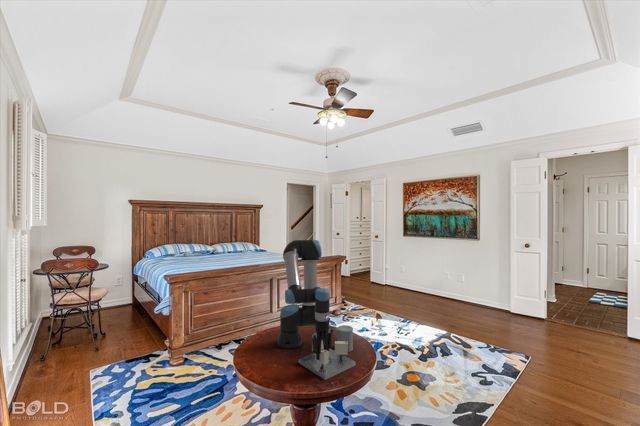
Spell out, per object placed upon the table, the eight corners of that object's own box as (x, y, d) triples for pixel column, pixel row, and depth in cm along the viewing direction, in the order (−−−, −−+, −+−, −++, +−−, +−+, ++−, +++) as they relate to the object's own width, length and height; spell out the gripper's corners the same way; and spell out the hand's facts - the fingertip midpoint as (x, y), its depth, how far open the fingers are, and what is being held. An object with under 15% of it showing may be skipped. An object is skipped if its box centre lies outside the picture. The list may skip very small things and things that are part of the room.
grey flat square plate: (298, 362, 167) (298, 357, 167) (328, 350, 181) (328, 345, 181) (325, 379, 150) (325, 373, 150) (355, 365, 164) (355, 359, 164)
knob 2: (334, 359, 166) (334, 342, 166) (334, 357, 169) (334, 339, 169) (347, 360, 166) (347, 342, 165) (347, 357, 169) (347, 340, 168)
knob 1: (315, 365, 160) (315, 346, 160) (319, 363, 162) (319, 345, 162) (324, 370, 154) (324, 351, 154) (328, 368, 156) (328, 349, 156)
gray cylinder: (352, 352, 179) (352, 332, 179) (335, 351, 181) (336, 330, 181) (353, 345, 188) (353, 325, 188) (338, 344, 190) (338, 324, 190)
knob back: (315, 358, 168) (315, 340, 168) (312, 356, 170) (312, 338, 170) (324, 354, 172) (325, 337, 172) (321, 352, 174) (321, 335, 174)
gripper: (314, 325, 150) (314, 372, 150) (338, 317, 160) (338, 362, 160) (305, 320, 156) (305, 366, 156) (328, 314, 166) (328, 356, 166)
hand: (321, 364), depth 158 cm, fingers closed on knob 1, 3 cm apart
